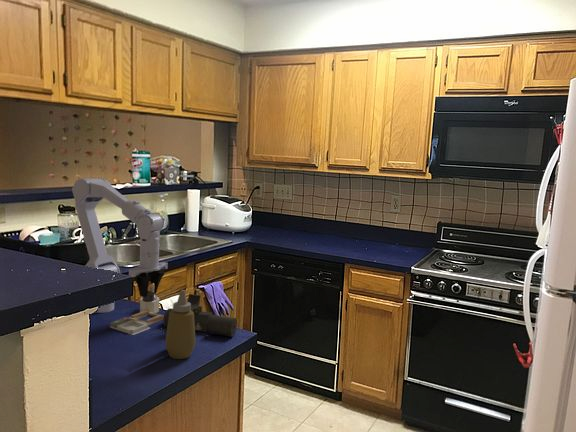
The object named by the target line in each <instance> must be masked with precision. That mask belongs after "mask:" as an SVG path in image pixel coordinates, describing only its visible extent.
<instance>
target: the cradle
mask: <svg viewBox="0 0 576 432" xmlns="http://www.w3.org/2000/svg"><path fill="white" fill-rule="evenodd" d="M109 325H110V326H109V328H111V329H114V330H117V331H120V332H123V333H126V334H128V335H132V336H133V335H134V336H135V335H137V334H140V333H142V332H145V331H148V330H150V329H151V327H149V325H147V324H146V323H143V322H140V321H137V320H132V319H130V317H127V316H125V317H123V318H120V319H117V320H114V321H110V323H109Z"/></svg>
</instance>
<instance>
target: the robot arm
mask: <svg viewBox="0 0 576 432" xmlns="http://www.w3.org/2000/svg"><path fill="white" fill-rule="evenodd" d="M71 190H72V191H71V192H72V196H73V198H74V204H75V211H76V214H77V217H78V221H79V225H80V229H81V231H82V232H81V233H82V235H83V239H84V243H85V246H86V247H85V248H87V250H86V251H87V254H88V257H89V260H88V261H87V263H86V264H85V266H88V267H92V268H97V269H104V270H111V271H114V272H117V273H120V274H121V270H120V267H119V266H118V265H117V263H116V261H115V258H114V257H112V256H110V255H109V254H108V252H107V249H106V244H105V241H104V237H103V233H102V230H101V228H100V224H99V223H100V222H99V220H98V217H97V213H96V210H95V209H96V207H97V205H99V203H100V202H102V200H104V199H105V200H107V201H108V202H110V203H111V204H112V205H115V206H116V207H117V208H119V209H121V214H122V216H124V217H125V218H127V219H128V220H130V221H131V222H132V223H134V224H135V225H136V229H137V230H138V233H139V238H140V239H139V240H140V241H139V242H140V243H139V265H138V266H136V267H133V268H131V269H128V277H131V276H132V278H133V279H134V281H135V282H136V286H137V289H138V293H139V296H140V297H141V298H142V297H146V296H147V289H148V283H149V281H152V282H155V294H157V292H158V288H159V287H160V286H159V285H160V283H161V281H162V278H163V277H164V276H165V271H164V270H168V267H169V266H168V262H166V261H162V262H161V261H160V238H161V237H160V235H161V234H160V233H161V230H162V229H163V228H164V225H165V220H164V218H163V216H162V215H161V214H160V212H151V210H150V208H146V207H145V206H144V205H142V204H141V203H140V201H139V200H137V199H130V200H129V199H128V198H127V197H125V196H124V195H123V194H122V193H120V192H119V191H118V190H117V189H116V188H115V187H113V186H112V184H111V182H110V181H108V180H107V179H105V178H103V177H99V178H82V177H81V178H78V179H76V180H75V181H74V184H73V186H72V188H71ZM159 261H160V262H159ZM114 310H115V302H114V303H111V304H108V305H104V306H101V307H100V308H98V311H97V312H96V313H101V314H102V313H110V312H112V311H114Z"/></svg>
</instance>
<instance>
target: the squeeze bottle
mask: <svg viewBox="0 0 576 432" xmlns="http://www.w3.org/2000/svg"><path fill="white" fill-rule="evenodd" d="M187 301H188V299H187V294H186V290H185V289H181V290H180V291H179V295H178V299H177V301H175V302H173V304H172V305H173V306H172V309H173V310H172V311H171V312H170V313H169V319H168V326H166V332H165V333H166V334H165V335H166V336H165V341H164V343H165V347H166V351H167V353H168V354H167V355H168V357H170V358H171V359H175V360H176V359H177V360H184V359H188V358H189V357H191V356H192V353H193V350H194V347H195V346H196V343H197V342H196V331H195V322H194V312H193V311H191V303H189V302H187Z"/></svg>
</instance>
